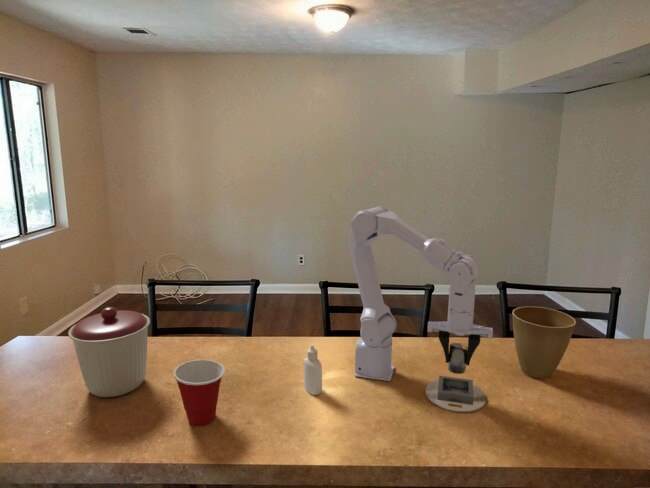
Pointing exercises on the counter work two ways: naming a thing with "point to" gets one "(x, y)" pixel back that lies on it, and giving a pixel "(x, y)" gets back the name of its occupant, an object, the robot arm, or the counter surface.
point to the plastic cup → (199, 389)
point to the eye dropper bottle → (312, 372)
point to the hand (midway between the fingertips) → (457, 362)
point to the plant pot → (541, 339)
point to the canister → (112, 351)
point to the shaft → (457, 358)
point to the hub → (455, 394)
